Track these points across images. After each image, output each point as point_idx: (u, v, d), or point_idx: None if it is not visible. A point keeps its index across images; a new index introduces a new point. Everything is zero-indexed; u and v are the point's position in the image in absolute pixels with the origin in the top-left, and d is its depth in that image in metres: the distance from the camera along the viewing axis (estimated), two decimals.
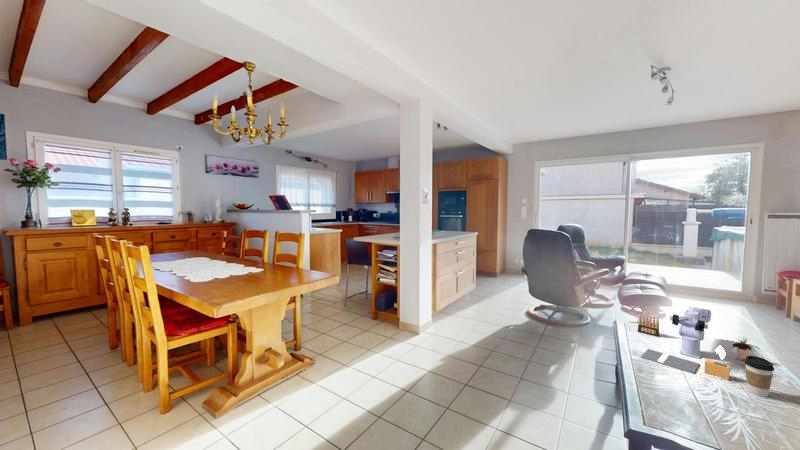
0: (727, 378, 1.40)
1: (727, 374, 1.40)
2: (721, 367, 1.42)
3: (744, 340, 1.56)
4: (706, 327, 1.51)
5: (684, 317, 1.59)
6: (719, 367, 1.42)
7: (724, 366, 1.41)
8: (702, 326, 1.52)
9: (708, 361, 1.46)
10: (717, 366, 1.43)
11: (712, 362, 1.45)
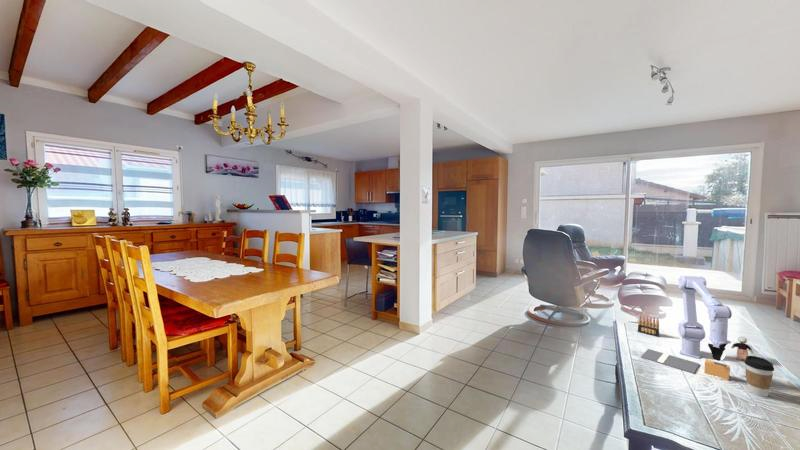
0: (727, 378, 1.40)
1: (727, 374, 1.40)
2: (721, 367, 1.42)
3: (744, 340, 1.56)
4: None
5: None
6: (719, 367, 1.42)
7: (724, 366, 1.41)
8: None
9: (708, 361, 1.46)
10: (717, 366, 1.43)
11: (712, 362, 1.45)
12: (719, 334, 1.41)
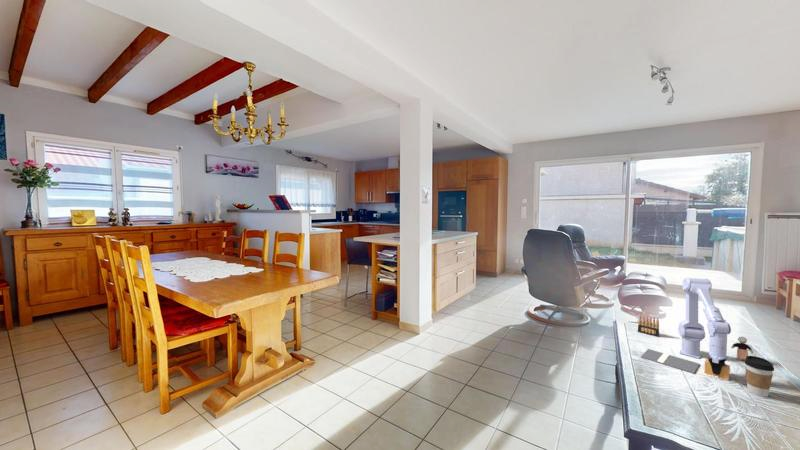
0: (727, 378, 1.40)
1: (727, 374, 1.40)
2: None
3: (744, 340, 1.56)
4: None
5: None
6: None
7: (724, 366, 1.41)
8: None
9: (708, 361, 1.46)
10: None
11: None
12: (718, 349, 1.42)
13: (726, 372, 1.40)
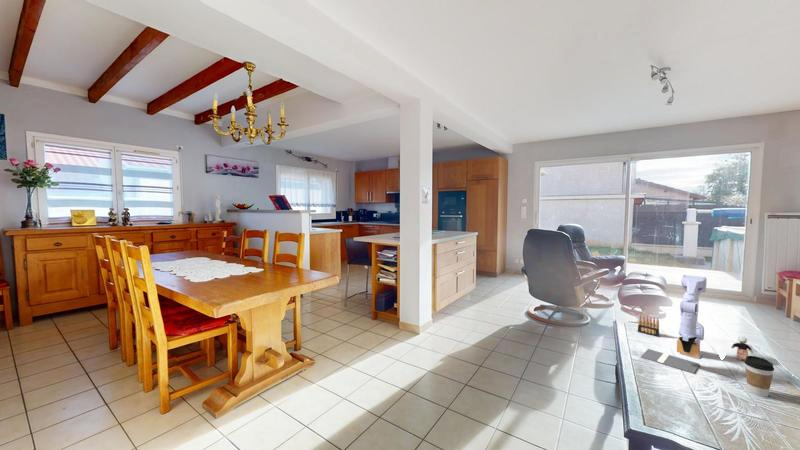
0: (697, 355, 1.48)
1: (697, 351, 1.48)
2: None
3: (744, 340, 1.56)
4: None
5: None
6: None
7: (694, 344, 1.49)
8: None
9: None
10: None
11: None
12: (688, 328, 1.50)
13: (696, 350, 1.48)
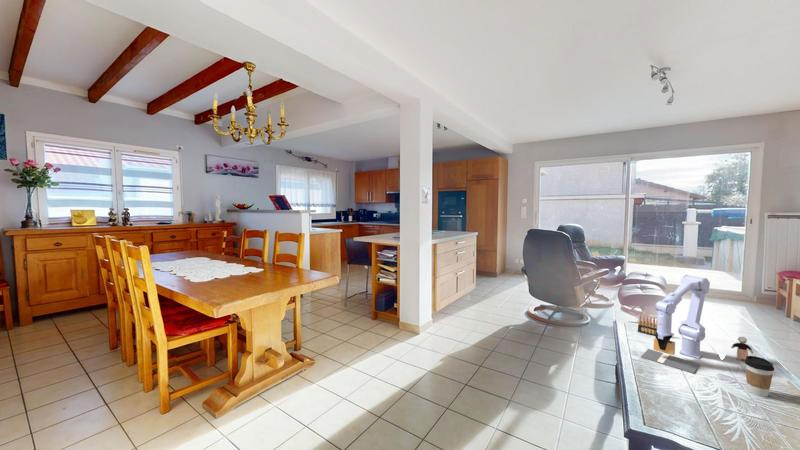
0: (672, 353, 1.56)
1: (672, 349, 1.56)
2: (667, 343, 1.57)
3: (744, 340, 1.56)
4: None
5: None
6: None
7: (670, 342, 1.57)
8: None
9: None
10: None
11: None
12: (664, 327, 1.57)
13: (671, 348, 1.56)
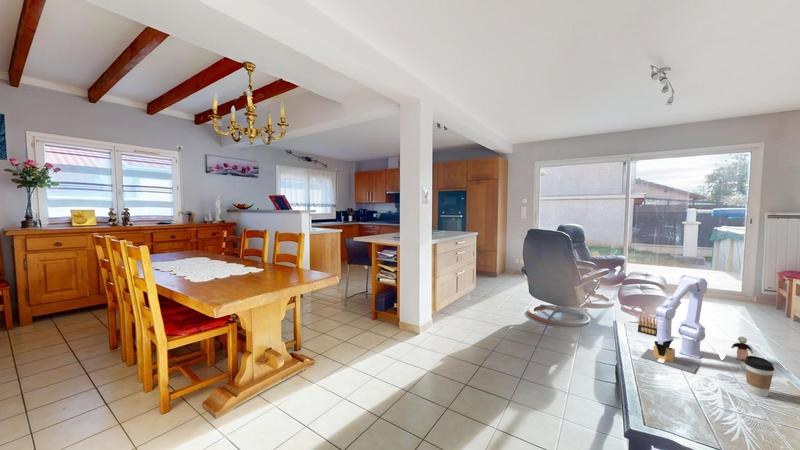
0: (672, 360, 1.56)
1: (672, 356, 1.56)
2: (667, 350, 1.57)
3: (744, 340, 1.56)
4: None
5: None
6: None
7: (669, 349, 1.57)
8: None
9: None
10: None
11: None
12: (664, 332, 1.57)
13: (671, 355, 1.56)
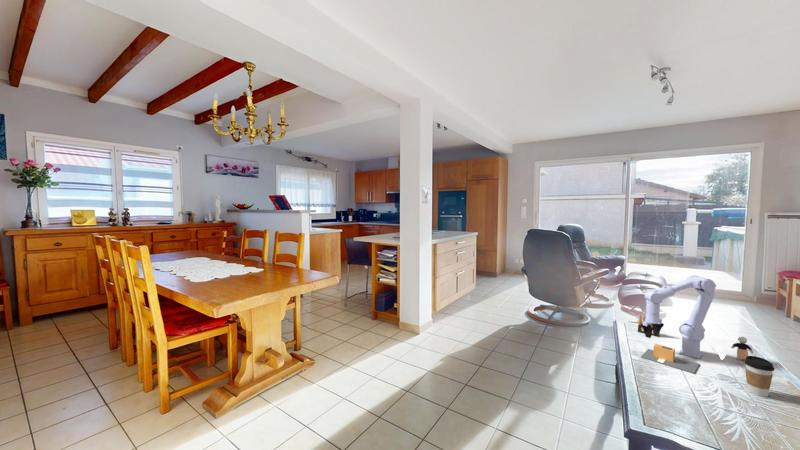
0: (672, 360, 1.56)
1: (672, 356, 1.56)
2: (667, 350, 1.57)
3: (744, 340, 1.56)
4: None
5: None
6: (665, 350, 1.58)
7: (669, 349, 1.57)
8: None
9: (657, 345, 1.62)
10: (663, 349, 1.58)
11: (660, 346, 1.61)
12: (651, 315, 1.65)
13: (671, 355, 1.56)
